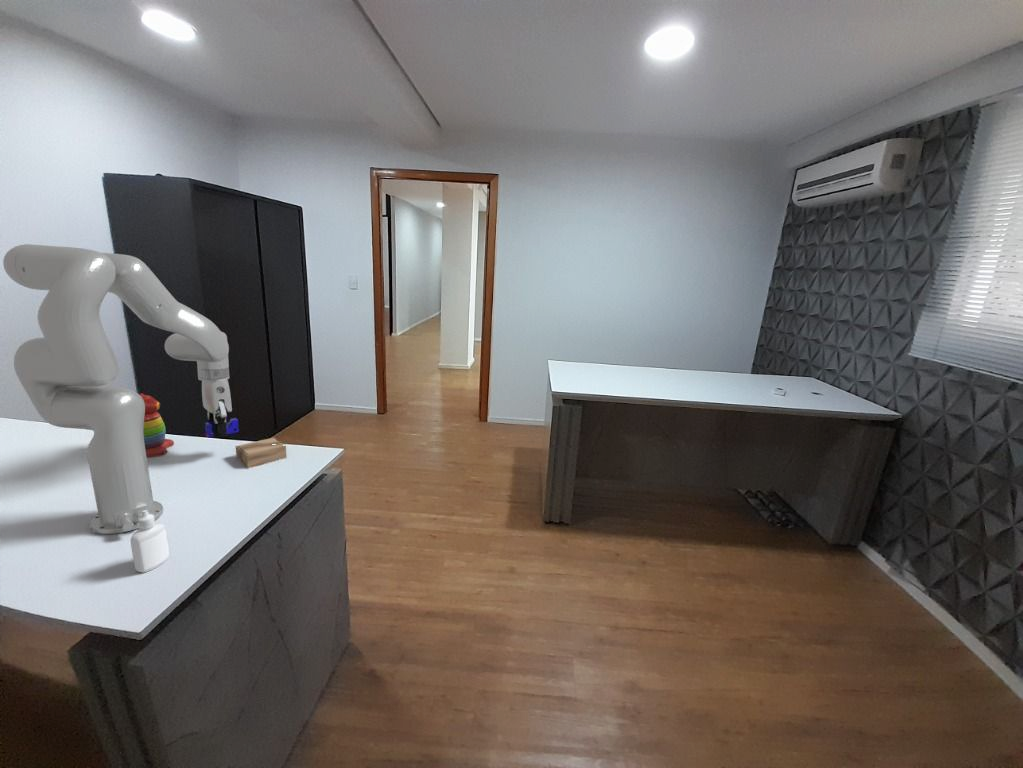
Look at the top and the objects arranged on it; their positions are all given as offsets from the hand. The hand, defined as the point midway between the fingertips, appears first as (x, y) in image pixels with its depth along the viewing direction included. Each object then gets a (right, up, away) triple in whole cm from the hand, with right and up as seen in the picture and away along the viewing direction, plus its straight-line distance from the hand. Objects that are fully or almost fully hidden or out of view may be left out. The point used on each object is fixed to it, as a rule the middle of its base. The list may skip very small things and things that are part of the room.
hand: (217, 433), depth 129 cm
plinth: (+11, -8, +5) cm, 14 cm away
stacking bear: (-23, -6, +4) cm, 24 cm away
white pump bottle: (+16, -22, -43) cm, 51 cm away
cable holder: (+1, 0, +1) cm, 1 cm away
